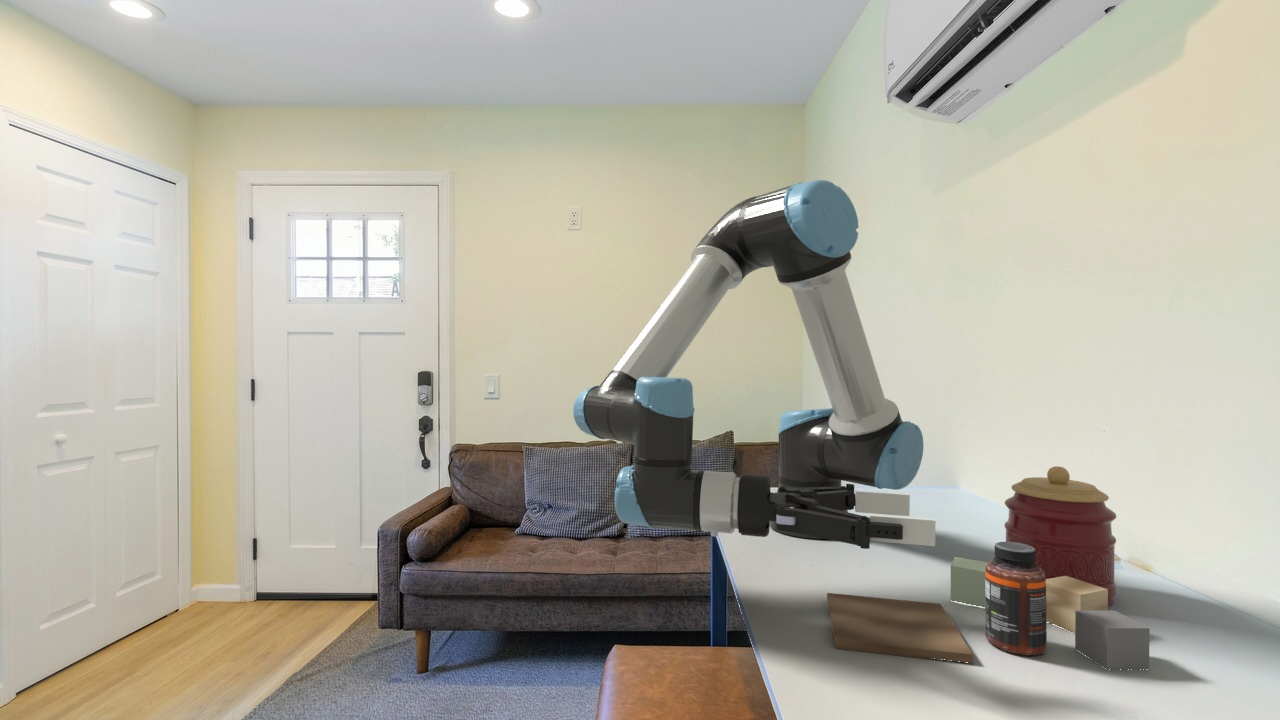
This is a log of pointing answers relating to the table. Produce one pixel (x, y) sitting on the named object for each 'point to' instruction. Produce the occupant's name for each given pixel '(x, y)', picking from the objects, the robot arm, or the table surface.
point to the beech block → (1072, 600)
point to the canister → (1064, 527)
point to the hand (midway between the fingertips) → (921, 517)
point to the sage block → (968, 581)
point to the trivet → (895, 628)
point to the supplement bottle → (1015, 600)
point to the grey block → (1112, 640)
